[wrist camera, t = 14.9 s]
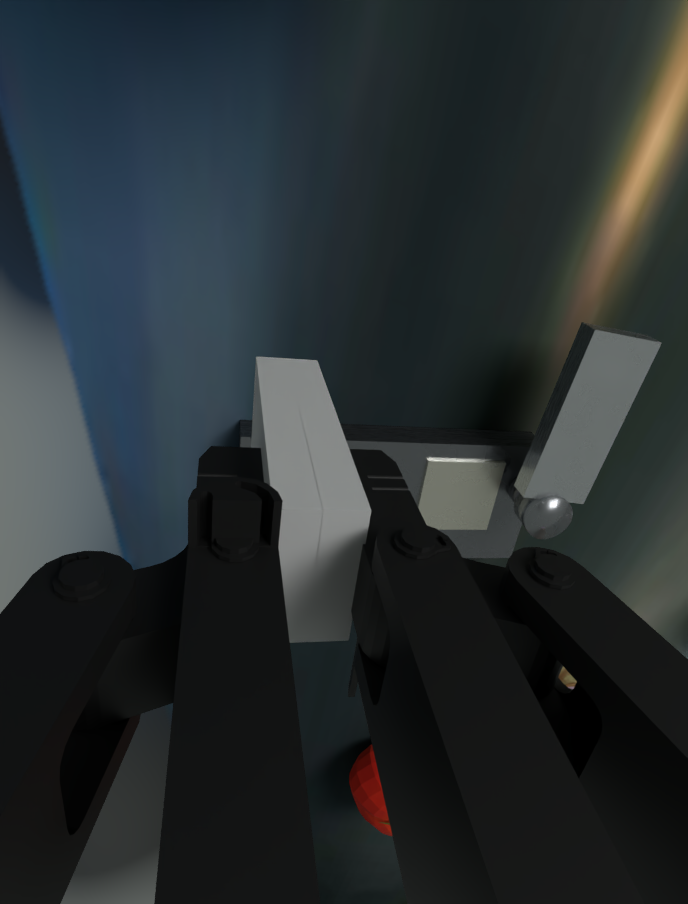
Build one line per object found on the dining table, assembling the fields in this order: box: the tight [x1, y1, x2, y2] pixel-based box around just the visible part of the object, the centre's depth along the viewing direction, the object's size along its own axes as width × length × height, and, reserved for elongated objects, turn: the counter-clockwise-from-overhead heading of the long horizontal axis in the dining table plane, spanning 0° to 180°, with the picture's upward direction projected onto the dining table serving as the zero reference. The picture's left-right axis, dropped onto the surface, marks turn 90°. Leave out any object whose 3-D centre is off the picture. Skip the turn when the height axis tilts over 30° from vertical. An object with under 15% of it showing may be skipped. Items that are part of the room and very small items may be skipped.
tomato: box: [349, 744, 392, 836], centre depth 70 cm, size 14×13×9 cm
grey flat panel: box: [514, 322, 661, 539], centre depth 46 cm, size 6×18×2 cm, turn 167°
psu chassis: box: [239, 420, 535, 558], centre depth 51 cm, size 12×26×5 cm, turn 83°
